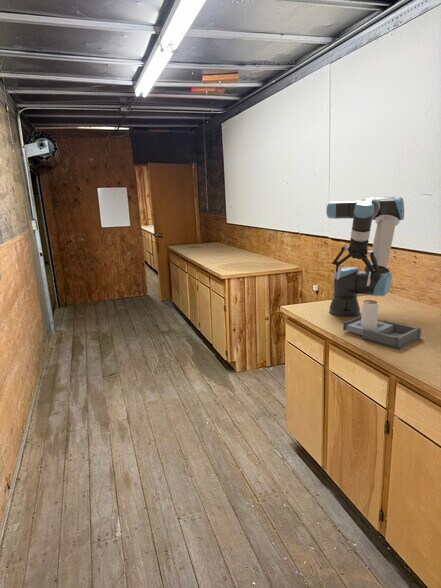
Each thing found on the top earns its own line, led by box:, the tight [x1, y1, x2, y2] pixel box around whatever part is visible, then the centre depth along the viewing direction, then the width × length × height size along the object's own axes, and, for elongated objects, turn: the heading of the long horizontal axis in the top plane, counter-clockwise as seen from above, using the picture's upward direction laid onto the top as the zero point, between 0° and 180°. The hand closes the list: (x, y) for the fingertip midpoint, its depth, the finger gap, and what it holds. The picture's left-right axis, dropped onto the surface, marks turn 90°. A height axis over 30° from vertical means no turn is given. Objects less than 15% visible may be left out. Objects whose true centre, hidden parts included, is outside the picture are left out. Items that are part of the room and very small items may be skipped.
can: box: [361, 299, 379, 330], centre depth 169 cm, size 6×6×12 cm
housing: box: [361, 319, 422, 351], centre depth 163 cm, size 16×18×4 cm
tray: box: [342, 315, 394, 336], centre depth 171 cm, size 15×14×4 cm
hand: (353, 281), depth 179 cm, fingers open, 13 cm apart
